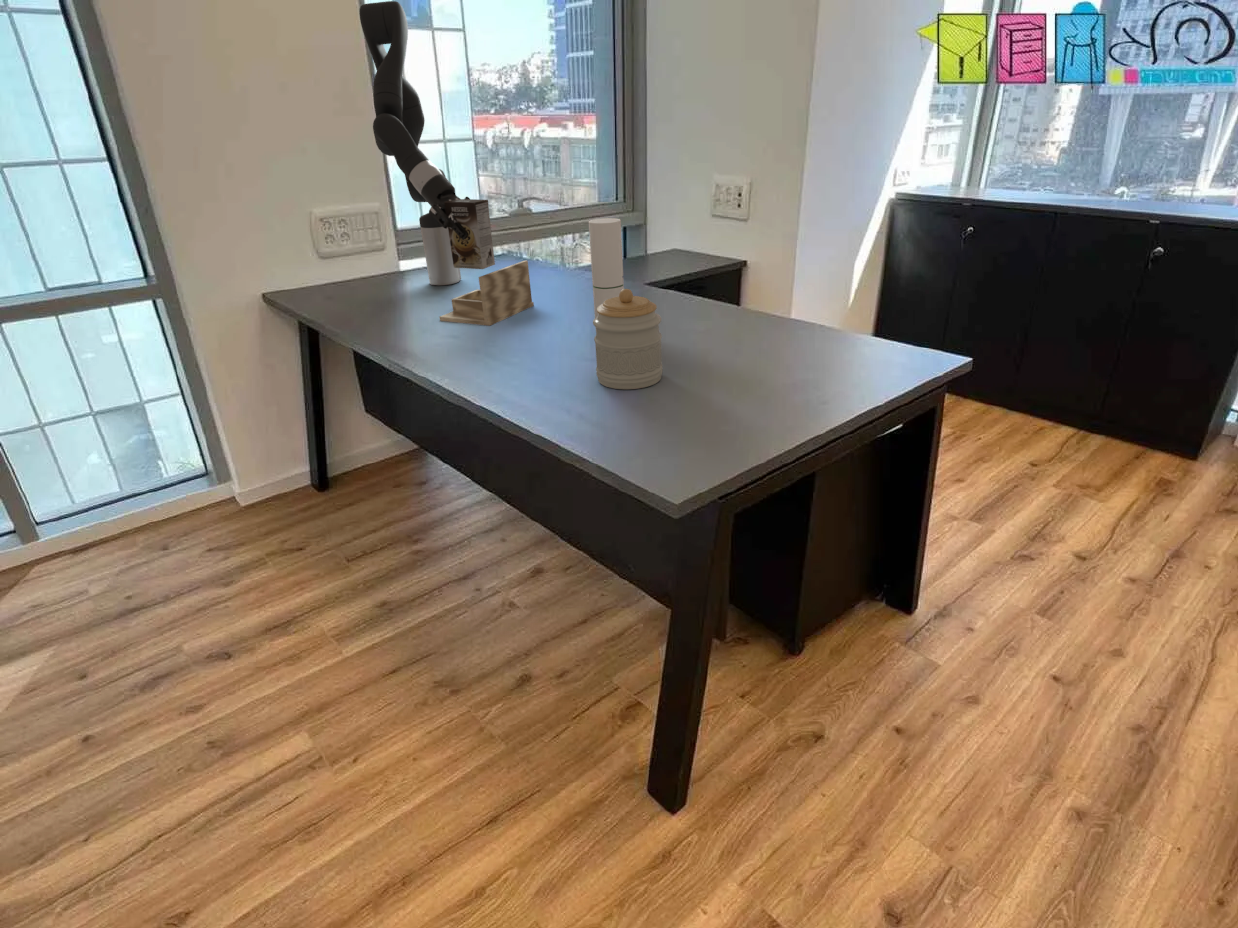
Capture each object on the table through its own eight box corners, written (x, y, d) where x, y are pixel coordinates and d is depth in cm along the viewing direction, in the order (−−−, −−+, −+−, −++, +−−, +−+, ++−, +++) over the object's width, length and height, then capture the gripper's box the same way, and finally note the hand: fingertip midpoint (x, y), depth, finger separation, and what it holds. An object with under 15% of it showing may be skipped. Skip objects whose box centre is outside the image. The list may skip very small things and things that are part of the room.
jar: (672, 384, 137) (670, 292, 129) (607, 395, 134) (601, 301, 126) (650, 364, 149) (647, 278, 141) (589, 373, 146) (583, 285, 138)
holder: (486, 301, 203) (480, 258, 197) (533, 305, 196) (529, 260, 190) (439, 320, 187) (432, 273, 182) (489, 325, 180) (483, 277, 175)
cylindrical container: (627, 325, 174) (622, 217, 163) (624, 334, 168) (618, 222, 157) (597, 326, 175) (590, 218, 164) (593, 335, 169) (586, 224, 157)
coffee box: (452, 268, 185) (442, 202, 177) (466, 263, 190) (457, 198, 183) (482, 269, 181) (474, 202, 174) (496, 264, 187) (488, 198, 179)
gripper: (418, 176, 173) (464, 229, 173) (457, 170, 184) (499, 219, 185) (406, 199, 178) (450, 250, 178) (444, 192, 189) (486, 240, 189)
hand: (475, 234), depth 181 cm, fingers closed on coffee box, 6 cm apart
